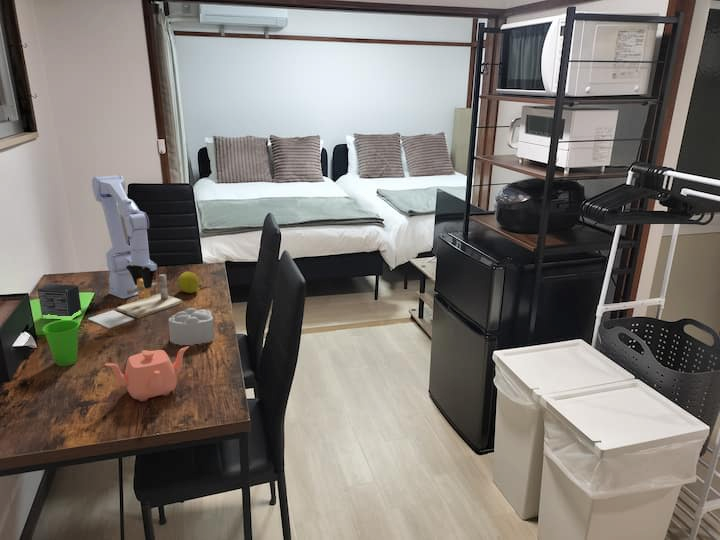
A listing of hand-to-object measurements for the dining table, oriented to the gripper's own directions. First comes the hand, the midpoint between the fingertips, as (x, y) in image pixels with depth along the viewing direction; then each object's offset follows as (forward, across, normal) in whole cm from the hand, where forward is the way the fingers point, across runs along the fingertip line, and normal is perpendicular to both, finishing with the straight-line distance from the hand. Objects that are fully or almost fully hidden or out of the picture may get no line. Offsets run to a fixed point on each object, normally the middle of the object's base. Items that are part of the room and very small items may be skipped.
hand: (143, 285), depth 182 cm
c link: (+4, 0, 0) cm, 4 cm away
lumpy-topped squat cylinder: (+8, +32, -6) cm, 34 cm away
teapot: (+8, +50, -33) cm, 61 cm away
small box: (+8, -15, -21) cm, 27 cm away
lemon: (+8, -1, +20) cm, 22 cm away
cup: (+8, +17, -37) cm, 42 cm away
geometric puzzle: (+8, -28, +22) cm, 37 cm away
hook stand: (+8, 0, +2) cm, 9 cm away
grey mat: (+8, 0, -13) cm, 15 cm away
